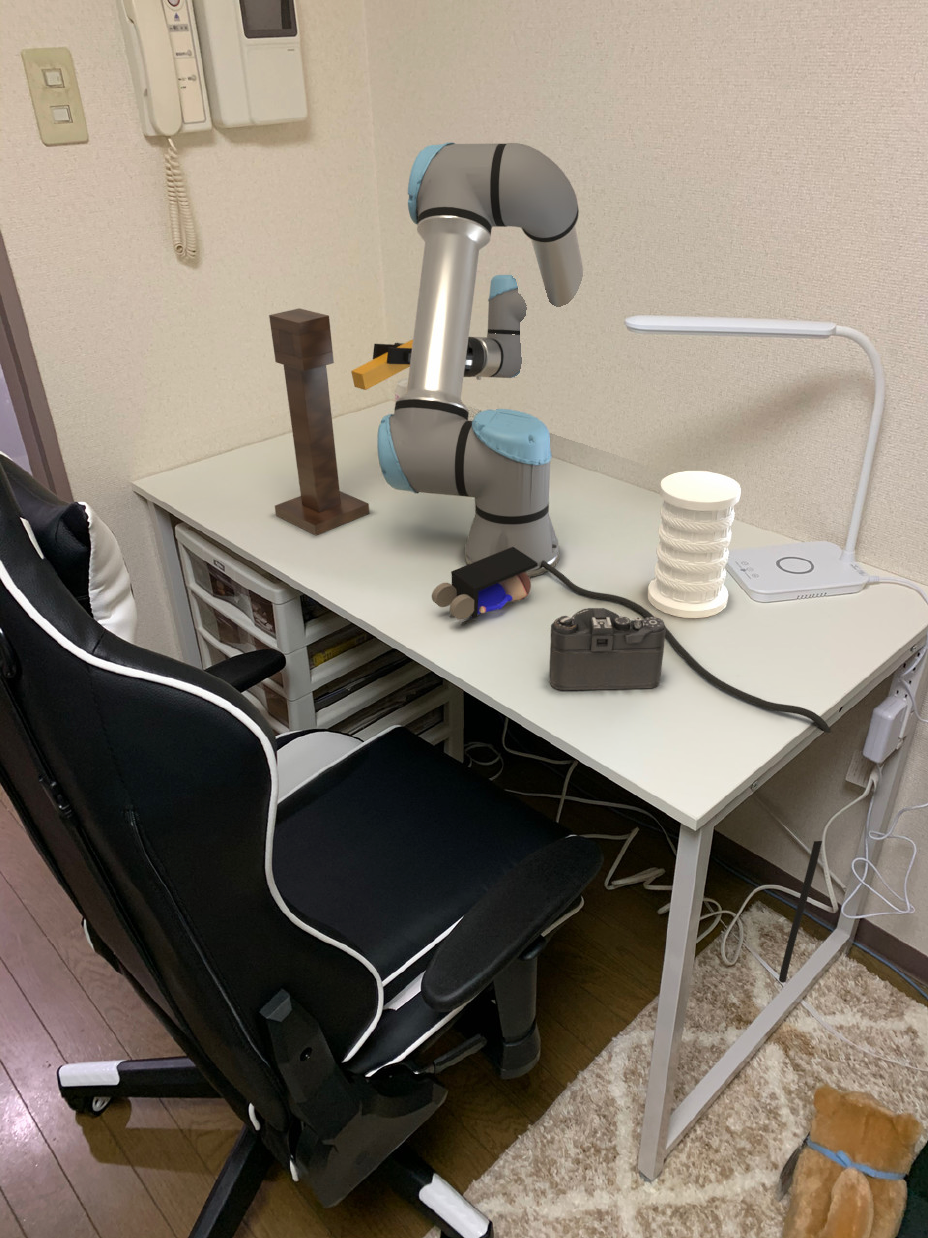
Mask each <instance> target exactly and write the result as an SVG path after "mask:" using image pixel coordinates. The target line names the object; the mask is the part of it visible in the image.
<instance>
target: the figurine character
mask: <svg viewBox="0 0 928 1238" xmlns="http://www.w3.org/2000/svg"><path fill="white" fill-rule="evenodd" d="M537 566H538V563H537V562H535V561H534V560H532V559H531V558H530V557H528V556H527V555H525V554H524V553H522V552H521V551H519V550H518V549H516V548H515V547H511V548H508V549H506V550H503V551H501V552H498V553H496V554H493V555H491V556H488V557H486V558H483V559H481V560H478V561H476V562H473V563H471V564H466V565H464V566H461V567H459V568H457V569H454V570H452V571H451V572H450V574H451V583H449V582H441V583H440V584H438V585H436V587H435V588H434V589H433V591H432V593H431V601H432V602H433V603H435V605H437V606H438V607H439V608H447V607H449V612H450V614H449V618H456V619H457V620H463V621H462V622H461V623H460V626H465V625H468V624H469V623H471V622H474V621H475V620H477V619H479V617H480V614H486V613H488V612H494V611H498V610H502V609H503V607H504V606H505V605H506V604H507V603H509V602H514V603H515V602H520V601H522V600H525V598H527V597H528V595H530V591H531V588H532V581H531V579H530V577H528V575H527V574H526V573H525V571H528V570H530V569H533V568H535V567H537ZM470 616H471V617H470ZM465 619H466V620H465Z"/></svg>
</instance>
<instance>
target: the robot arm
mask: <svg viewBox="0 0 928 1238" xmlns="http://www.w3.org/2000/svg"><path fill="white" fill-rule="evenodd" d="M411 166H412V167H411V169H410V172H409V173H410V174H409V179H408V185H407V195H408V200H407V208H408V213H409V217H410V219H411V221H412V222H413V224H415V225H416V231H417V233H418V235H419V237H420V238H421V239H422V240H423V242H424V249H423V258H422V265H421V272H420V281H419V289H418V297H417V305H416V312H415V321H414V330H413V337H412V339H413V344H412V348H397V347H399V346H401V345H402V344H404V343H405V342H403V343H402V342H394V344H391V343H374V344H373V350H372V351H373V352H372V360H373V359H375V358H377V357H379V356H381V355H383V354H385V353H387V352H388V355H387V363H388V364H410V367H409V370H408V377H407V378H408V385H407V392H406V393H405V394H404V395H403V396H401V397H400V398H399V399H397V400H396V401H395V405H394V411H393V413H388V414H387V415H384V416H383V417H382V418H381V420H380V424H379V425H378V429H377V436H376V437H377V439H376V441H377V442H376V443H377V444H376V445H377V458H378V463H379V468H380V470H381V473H382V476H383V478H384V480H385V482H386V483H387V484H388V485H389V486H390V487H391V488H393V489H394V490H398V491H404V492H412V493H414V494H420V493H422V494H423V493H424V494H433V495H435V494H436V495H443V496H444V495H445V496H455V497H465V498H474V516H473V520H472V522H471V526H470V529H469V533H468V536H467V538H466V541H465V545H464V560H465V562H466V565H468V564H471V563H473V562H476V561H478V560H481V559H483V558H486V557H488V556H491V555H493V554H496V553H498V552H501V551H503V550H506V549H508V548H511V547H515V548H516V549H518V550H519V551H521V552H522V553H524V554H525V555H527V556H528V557H530V558H531V559H532V560H534V561H535V562H537V563H538V566H537V567H535V568H533V569H530V570H528V571H525V573H526V574H527V575H528V577H529V578H532V577H533V578H534V577H537V576H539V575H542V574H545V573H547V572H549V573H551V575H553V576H554V577H556V578H557V579H558V580H559V581H561V582H562V583H563V584H564V586H566V587H567V588H569V589H570V590H571V591H573V592H574V593H577V594H578V595H581V596H585V597H587V598H593V599H598V600H606V601H611V602H616V603H618V604H619V603H620V604H622V605H624V606H627V607H629V608H631V609H632V610H634V611H635V612H637V613H639V614H641V616H642V617H644V619H645V618H647V617H655V615H653V614H652V613H651V612H650V611H648V610H647V609H646V608H644V607H643V606H642V605H640V604H638V603H636V602H635V601H632V600H630V599H628V598H627V597H623V596H620V595H617V594H610V593H604V592H597V591H593V590H592V591H591V590H588V589H585V588H582V587H580V586H578V585H576V584H575V583H574V582H572V580H570V579H569V578H568V577H567V576H566V575H564V574H563V573H562V572H561V571H559V570H558V569H556V568H555V566H556V565H557V564H558V563H559V560H560V546H559V541H558V538H557V535H556V532H555V528H554V526H553V522H552V519H551V516H550V486H551V485H550V483H551V482H550V480H551V461H552V456H553V455H552V450H551V433H550V431H549V428H548V426H547V425H546V424H545V423H544V422H543V421H542V420H541V419H539V418H538V417H537V416H534V415H532V414H530V413H527V412H523V411H519V410H516V409H507V408H496V409H491V408H490V409H485V410H482V411H480V412H478V413H476V414H475V416H474V417H473V419H472V420H469V414H470V411H469V409H468V408H467V406H466V405H465V403H463V401H462V393H463V392H462V391H463V383H464V378H476V380H477V381H481V380H482V378H497V379H499V378H500V379H501V378H502V379H512V378H516V377H515V376H517V375H518V374H519V373H520V369H521V364H522V357H521V343H520V322H521V321H522V320H523V319H524V317H525V316H526V310H527V307H526V306H527V305H526V303H525V300H524V299H523V297H522V296H521V294H519V293H518V286H517V282H516V279H515V278H513V276H512V275H513V274H496V275H493V277H491V280H490V285H489V294H488V295H489V296H488V299H487V302H488V309H487V311H488V313H487V316H488V317H487V331H486V332H487V333H486V337H485V336H469V335H470V328H471V319H472V312H473V303H474V295H475V288H476V280H477V272H478V262H479V254H480V250H482V249H483V248H484V247H486V246H487V245H488V244H489V243H490V242H491V236H492V235H491V234H492V229H493V228H499V227H501V228H503V227H504V228H506V227H507V228H508V227H514V228H520V229H521V230H522V233H524V235H525V236H526V237H527V238H528V239H530V240H531V243H532V248H533V251H534V255H535V258H536V261H537V265H538V269H539V273H540V275H541V279H542V283H543V287H545V290H546V293H547V297H548V299H549V302H550V303H551V304H552V305H554V306H556V307H561V306H563V305H566V304H568V303H569V302H570V301H571V300H572V299H573V298H574V296H575V295H576V293H577V291H578V289H579V286H580V284H581V281H582V277H583V271H584V266H583V259H582V254H581V250H580V245H579V239H578V234H577V228H576V225H577V223H578V220H579V215H580V210H579V203H578V199H577V194H576V191H575V189H574V188H573V185H572V184H571V181H570V179H569V178H568V177H567V175H566V174H565V173H564V172H563V170H562V169H561V168H560V167H559V166H558V165H557V164H556V163H555V161H554V160H553V159H551V158H550V157H549V156H547V155H546V154H544V153H543V152H542V151H540V150H538V149H536V148H535V147H533V146H530V145H527V144H524V143H519V142H507V143H455V142H454V141H453V142H445V143H443V144H442V143H441V144H430V145H427V146H425V147H424V148H423V149H422V150H420V151H419V152H418V154H417V155H416V157H415V158H414V161H413V163H412V165H411ZM495 333H496V334H495ZM512 334H515V335H512ZM665 640H667V641H668V643H669V644H670V645H671V646H672V647H673V649H674V650H675V651H676V652H677V653H678V654H679V655H680V656H681V657H682V658H683V660H685V662H686V663H687V664H688V665H689V666H690V667H691V668H692V669H693V670H694V671H695V672H696V673H698V674H699V675H700V676H701V677H702V678H704V679H705V680H706V681H708V682H709V683H711V684H712V685H714V686H716V688H719V689H720V690H722V691H724V692H726V693H728V694H729V695H731V696H734V697H735V698H738V699H741V700H743V701H746V702H748V703H750V704H752V705H755V706H757V707H760V708H762V709H766V710H769V711H773V712H774V711H775V712H780V713H787V714H795V715H799V716H802V717H805V718H807V719H809V720H811V721H812V722H814V723H815V724H816V725H817V726H818V727H819V729H820V730H821V731H822V732H824V733H826V734H830V733H831V732H832V730H831V728H830V726H829V725H828V723H827V722H826V721H825V719H823V718H822V717H821V716H820V715H819V714H818V713H816V712H815V711H812V710H810V709H808V708H805V707H802V706H801V707H800V706H797V705H796V706H795V705H790V704H782V703H777V702H772V701H767V700H765V699H762V698H759V697H757V696H755V695H752V694H750V693H747V692H745V691H743V690H741V689H738V688H736V687H734V686H732V685H730V684H728V683H726V682H724V681H723V680H721V679H720V678H718V677H716V675H713V674H712V673H711V672H709V671H708V670H707V669H706V668H704V667H703V666H702V665H701V664H700V663H699V662H698V661H697V660H696V659H695V658H694V657H693V656H692V655H691V654H690V653H689V652H688V651H687V650H686V649H685V648H684V647H683V646H682V645H681V643H680V642H679V641H678V640H677V638H676V637H675V635H673V634H672V633H671V631H670V630H669V629H668V628H667V627H666V631H665ZM822 844H823V841H822V840H813V844H812V848H811V852H810V857H809V861H808V864H807V868H806V873H805V877H804V880H803V884H802V888H801V891H800V895H799V899H798V901H797V905H796V908H795V909H796V910H795V913H794V917H793V920H792V924H791V927H790V932H789V935H788V940H787V943H786V945H785V951H784V953H783V954H784V955H783V959H782V963H781V967H780V971H779V977H778V981H779V982H780V983H782V984H784V983H786V981H787V977H788V973H789V969H790V964H791V960H792V957H793V952H794V948H795V945H796V941H797V936H798V934H799V929H800V926H801V923H802V919H803V915H804V912H805V908H806V904H807V901H808V898H809V894H810V890H811V887H812V883H813V880H814V876H815V872H816V868H817V864H818V860H819V857H820V852H821V848H822Z"/></svg>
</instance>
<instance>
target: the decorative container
mask: <svg viewBox="0 0 928 1238" xmlns="http://www.w3.org/2000/svg"><path fill="white" fill-rule="evenodd" d="M741 493H742V489H741V485H740V483H739V482H737V481H736V480H735V479H733V478H732V477H729V476H728V475H725V474H721V473H718V472H712V471H705V470H686V471H685V470H684V471H679V472H674V473H671V474H669V475H666V476H664V477H663V478H662V479H661V481H660V484H659V495H660V497H661V498H662V500H663V502H662V504H661V507H660V510H659V511H660V518H661V523H660V524H659V527H658V531H657V532H658V538H659V543H658V545H657V547H656V558H657V559H658V560H657V562H656V564H655V567H654V575H655V577H654V579H651V581H650V582H649V584H648V586H647V599H648V602H649V603H650V604H651V605H652V606H653V607H654V608H656V610H657V611H658V610H659V611H660V612H662V613H665V614H667V615H669V616H670V615H671V616H673V617H679V618H683V619H702V618H703V619H704V618H708V617H713V616H716V615H717V614H720V613H721V612H722V611H724V610H725V608H726V607H727V603H728V600H729V592H728V589H727V588H726V586H725V585H724V583H725V580H726V578H727V576H726V575H727V573H726V572H727V571H726V565H727V563H728V561H729V555H730V554H729V549H728V546H729V545H730V544H731V543H730V542H731V540H732V535H733V534H732V529H731V527H732V526H731V525H732V524H733V522H734V519H735V517H736V516H735V509H734V507H735V505H736V504H738V503H739V501H740V498H741Z"/></svg>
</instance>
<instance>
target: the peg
mask: <svg viewBox="0 0 928 1238" xmlns="http://www.w3.org/2000/svg"><path fill="white" fill-rule="evenodd" d="M403 343H404V344H402V345H401V346H399V347H397V348H412V344H413V338H412V339H411V340H410V339H409V340H408V341H406V342H403ZM387 355H388V352H387V353H385V354H383V355H381V356H379V357H377V358H375V359H373V358H372V360H369V361H367V362H366V363H364V364H362V365H360V366H358V367H356V368H353V369H352V370H351V371H350V372H351V377H352V381H353V387H354V388H357V389H360V390H364V391H367V390H369V389H371V388H372V387H375V386H376V385H378V384H380V383H382V382H384V381H385V380H387V379H389V378H391V377H393V376H395V375H397V374H399V373H401V372H402V371H404V370H406V369H408V368H410V364H388V363H387Z"/></svg>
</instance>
